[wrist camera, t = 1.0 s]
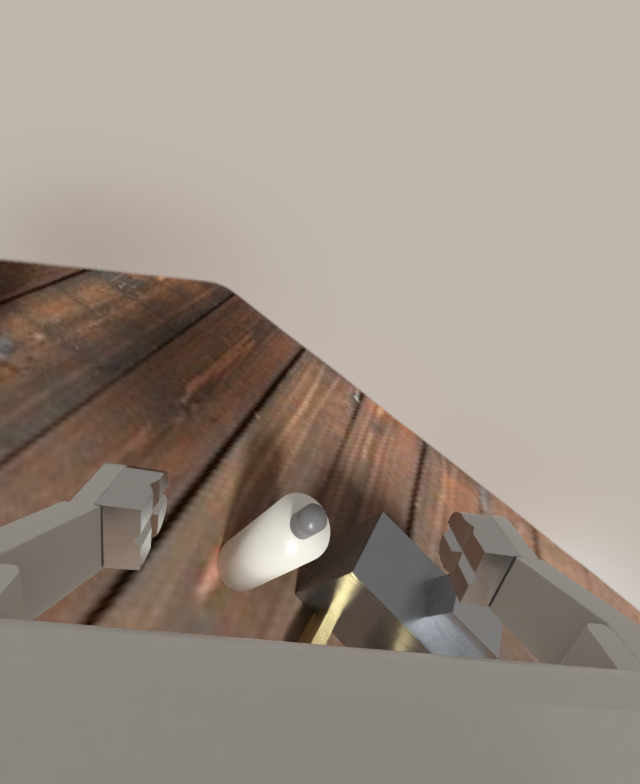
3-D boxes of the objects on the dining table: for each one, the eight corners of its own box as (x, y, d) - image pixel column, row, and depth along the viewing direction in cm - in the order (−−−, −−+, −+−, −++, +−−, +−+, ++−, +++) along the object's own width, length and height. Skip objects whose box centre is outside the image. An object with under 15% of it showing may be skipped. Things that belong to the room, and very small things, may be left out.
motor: (257, 654, 31) (339, 642, 22) (327, 540, 41) (404, 500, 32) (388, 790, 31) (524, 831, 22) (428, 641, 40) (533, 629, 32)
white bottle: (205, 564, 33) (269, 517, 24) (241, 525, 37) (308, 470, 27) (243, 604, 33) (323, 572, 23) (275, 560, 36) (355, 517, 27)
